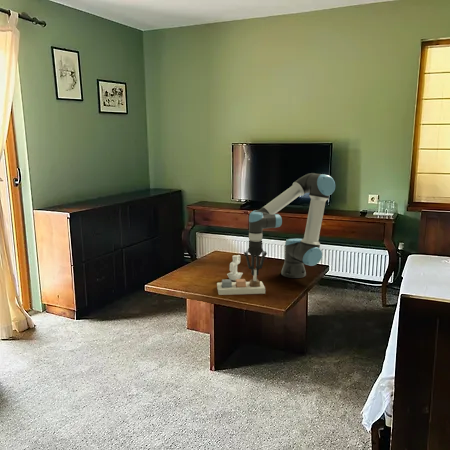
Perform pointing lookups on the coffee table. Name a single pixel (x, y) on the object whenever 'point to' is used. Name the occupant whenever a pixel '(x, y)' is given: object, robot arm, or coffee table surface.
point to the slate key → (226, 283)
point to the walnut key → (254, 283)
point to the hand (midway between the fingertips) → (254, 280)
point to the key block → (240, 289)
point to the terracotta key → (240, 283)
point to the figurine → (234, 268)
